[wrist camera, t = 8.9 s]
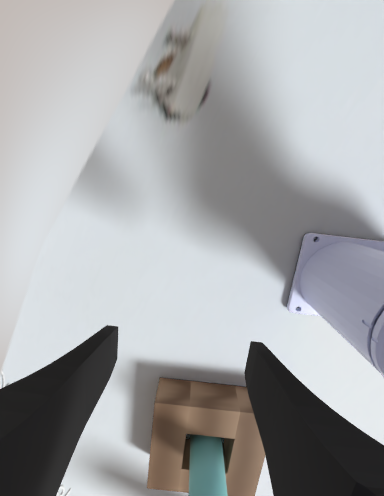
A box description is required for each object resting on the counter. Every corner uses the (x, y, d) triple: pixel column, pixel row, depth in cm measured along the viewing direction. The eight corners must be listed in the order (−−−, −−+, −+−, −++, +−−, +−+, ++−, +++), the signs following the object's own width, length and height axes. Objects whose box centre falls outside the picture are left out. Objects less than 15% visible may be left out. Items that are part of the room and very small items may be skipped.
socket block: (265, 389, 24) (275, 415, 21) (247, 466, 27) (253, 499, 24) (159, 377, 24) (154, 402, 21) (152, 456, 27) (146, 488, 24)
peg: (213, 408, 25) (220, 505, 17) (224, 430, 25) (236, 532, 18) (185, 417, 25) (181, 516, 17) (197, 438, 26) (198, 542, 18)
